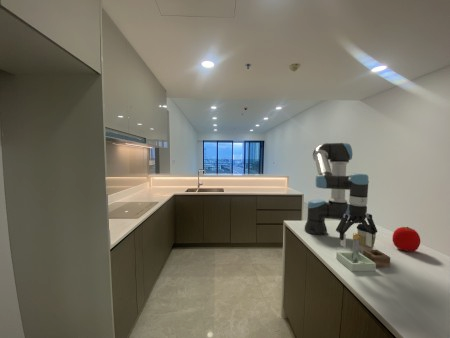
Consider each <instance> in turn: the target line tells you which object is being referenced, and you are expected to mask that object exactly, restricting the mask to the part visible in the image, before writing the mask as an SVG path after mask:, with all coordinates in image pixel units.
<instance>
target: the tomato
mask: <svg viewBox="0 0 450 338" xmlns="http://www.w3.org/2000/svg"><path fill="white" fill-rule="evenodd" d="M392 243H393V245H394V246H395V248H396V249H399V250H401V251H405V252H410V253H411V252H416V251H418V249H419V247H420V246H421V237H420V234H419V233H418V232H417V230H416V229H414V228H411V227H409V226H400V227H398V228H396V229H395V230H394V232H393V233H392Z"/></svg>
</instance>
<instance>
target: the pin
mask: <svg viewBox="0 0 450 338" xmlns="http://www.w3.org/2000/svg"><path fill="white" fill-rule="evenodd" d="M359 239H360V235H359V234H357V233H353V234H352V248H351V249H352V250H351V252H352V263H358V259H359V253H360V251H359Z"/></svg>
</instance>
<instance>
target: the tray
mask: <svg viewBox="0 0 450 338" xmlns="http://www.w3.org/2000/svg"><path fill="white" fill-rule="evenodd" d="M335 259H336V260H337V261H338V262H340V263H341V264H342V265H343V266H344V267H346V268H347V269H349V271H350V272H376V270H377V269H376V268H377V267H376V263H374V262H373V261H371V260H370V259H368V258H367V257H365V256H364V255H363V253H362V252H359V259H358V263H352V251H336V256H335Z"/></svg>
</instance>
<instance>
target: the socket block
mask: <svg viewBox="0 0 450 338" xmlns="http://www.w3.org/2000/svg"><path fill="white" fill-rule="evenodd" d="M362 255H364V256H365V257H367V258H368V259H370V260H371V261H373V262H374V263H376V268H390V267H391V257H390V256H389V255H387V254H386V253H383V252H382V251H380V250H378V249H373V250H363V252H362Z"/></svg>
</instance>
